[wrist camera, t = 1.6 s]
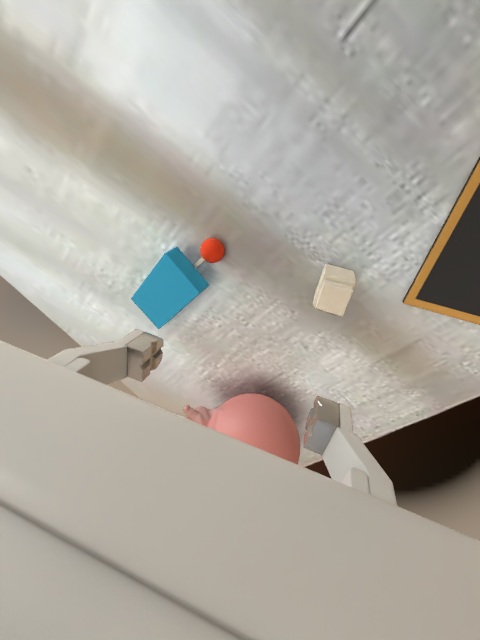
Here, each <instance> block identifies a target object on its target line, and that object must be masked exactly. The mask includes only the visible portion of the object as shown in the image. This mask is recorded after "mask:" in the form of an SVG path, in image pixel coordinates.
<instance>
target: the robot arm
mask: <svg viewBox="0 0 480 640" xmlns="http://www.w3.org/2000/svg"><path fill="white" fill-rule="evenodd" d="M162 346H163V339H162V338H159V337H157V336H154V335H152V334H149V333H147V332H144V331H141V330H139V329H135V330H134V331H132V332H131V333H129V334H128V335H126V336H125V337H123V338H122V339H120V340H119V341H117V342H114V341H113V342H107V343H101V344H95V345H89V346H83V347H77V348H72V349H66V350H63V351H62V352H60V353H58V354H56V355H55V356H53V357H51V358H49V359H48V360H46V359H44V358H41V357H39V356H36V355H34V354H31V353H29V352H27V351H24V350H22V349H20V348H17V347H14V346H12V345H10V344H8V343H5V342H3V341H0V640H480V541H479V540H477V539H474V538H472V537H470V536H467V535H465V534H462V533H460V532H457V531H455V530H452V529H450V528H448V527H446V526H443V525H441V524H438V523H436V522H433V521H431V520H429V519H426V518H424V517H421V516H419V515H417V514H414V513H412V512H410V511H406V510H405V509H402V508H400V507H398V506H397V503H396V498H395V493H394V489H393V484H392V481H391V480H390V479H389V477H388V476H387V475H386V473H385V472H384V471H383V469H382V468H381V467H380V465H379V464H378V463H377V461H376V460H375V459H374V457H373V456H372V455H371V453H370V452H369V451H368V449H367V448H366V447H365V445H364V444H363V443H362V441H361V440H360V439H359V437H358V436H357V435H356V434H354V433H353V426H352V415H351V408H350V407H349V406H346V405H343V404H340V403H336V402H334V401H331V400H328V399H325V398H323V397H320V396H317V397H316V399H315V401H314V408H312V409H311V410H310V413H309V415H308V418H307V422H306V430H307V432H306V434H305V438H304V448H306V449H309V450H311V451H313V452H316V453H318V454H320V455H322V458H323V460H324V462H325V465H326V467H327V469H328V471H329V473H330V476H331V478H332V479H331V478H328V477H326V476H323V475H321V474H319V473H316V472H314V471H311V470H309V469H307V468H304V467H302V466H299V465H297V464H295V463H292V462H290V461H287V460H285V459H283V458H280V457H278V456H275V455H273V454H271V453H268V452H266V451H264V450H261V449H259V448H256V447H254V446H252V445H249V444H247V443H244V442H242V441H240V440H237V439H235V438H232V437H230V436H228V435H225V434H223V433H221V432H218V431H216V430H213V429H211V428H209V427H206V426H204V425H201V424H199V423H196V422H194V421H192V420H189V419H187V418H185V417H182V416H180V415H177V414H175V413H173V412H170V411H168V410H165V409H163V408H161V407H158V406H156V405H153V404H151V403H149V402H146V401H144V400H142V399H139V398H137V397H134V396H132V395H130V394H127V393H125V392H122V391H120V390H117V389H115V388H112V387H110V386H108V385H107V384H110V383H112V382H115V381H118V380H121V379H123V378H126V377H130V378H133V379H136V380H138V381H141V382H142V381H143V380H144V379H145V378H146V377H147V376H148V375H150V370H154V369H156V368H157V367H158V365H159V364H160V362H161V359H162V354H163V353H162V351H161V349H160V348H161V347H162Z"/></svg>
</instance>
